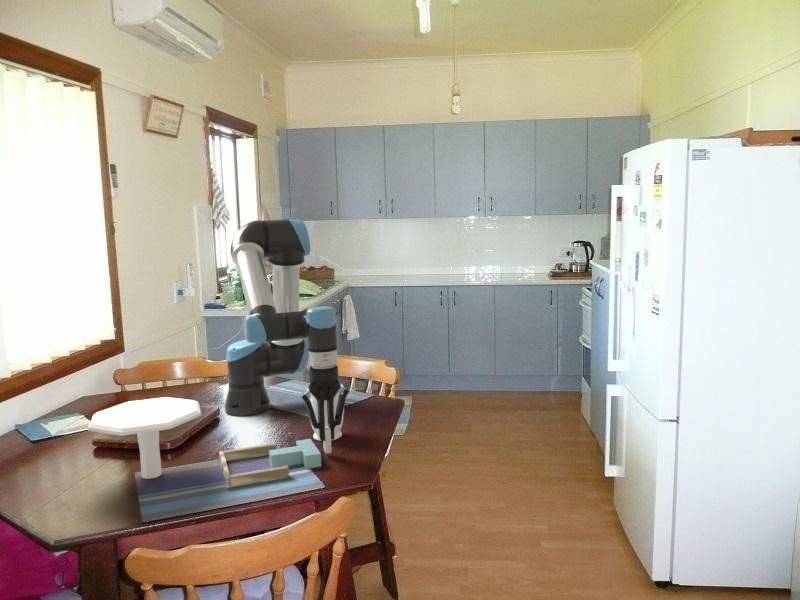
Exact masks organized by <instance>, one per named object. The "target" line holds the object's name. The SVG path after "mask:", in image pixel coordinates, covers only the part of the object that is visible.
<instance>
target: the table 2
mask: <svg viewBox="0 0 800 600" xmlns="http://www.w3.org/2000/svg"><path fill="white" fill-rule="evenodd" d="M201 416H202V410H201V406H200V403H199V401H197V400H195V399H186V398H179V397H170V396H164V397H156V398H155V397H153V398H148V399H147V398H145V399H140V400H138V399H137V400H129V401H125V402H122V403H119V404H116V405H114V406H111V407H108V408H105V409H103V410H99V411H97V412H95V413H94V414H93V415H92V417H91V420H90V423H89V426H88V429H87V431H88V432H94V433H101V434H107V435H112V436H113V435H114V436H121V437H122V436H123V437H124V436H128V435H137V443H138V448H139V457H140V471H141V473H140V474H141V478H142V479H146V480H148V479H155V478H158V477H159V476H161V475H162V474H163V473H162V460H161V450H160V431H165V430H171V429H174V428H176V427H178V426H181V425H183V424H185V423H187V422H190V421H193V420H194V419H197V418H199V417H201Z"/></svg>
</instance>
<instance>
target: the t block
mask: <svg viewBox="0 0 800 600" xmlns="http://www.w3.org/2000/svg"><path fill="white" fill-rule="evenodd" d="M295 445H296V446H289V447H288V446H287V447H283V448H282V447H281V448H277V449H275V450H269V455H268V457H269V458H268V460H269V466H270V468H276V467H282V466H288V467H290V466H296V465H302V464H303V467H304V468H305V469H306V470H309V469H315V468H321V467H322V454H321V452H320V450H319V449H318V447H317V446H316V445H315V443H314V441H312V439H311V438H305V439H300V440H296V441H295Z"/></svg>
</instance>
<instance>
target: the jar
mask: <svg viewBox="0 0 800 600" xmlns="http://www.w3.org/2000/svg"><path fill="white" fill-rule="evenodd" d="M340 385H341V386H342V387H344V385H343V384H342V383H340ZM306 390H308V387H307V388H306ZM310 396H311V399H310V401H311V404H312V407H313V410H314V414H315V417H316V420H317V423H318V406H317V399H316V398H315V397H314V396H313V395H312V393H311V394H310ZM338 397H339V391H338V392H337V394H336V395H335V397H334V403H333V406H334V419H335V413H336V408H337V403H338ZM344 414H345V408H344V409H343V414H342V420H341V424H340V425H337V426H335V429H334V439H332V440H331V442H332V441H335V440H338V439H340V438H341V437H342V436H343V433H342V431H341V429H342V428H343V424H344ZM324 417H325V427H326V426H328V418H327V401H326V400H325V401H324ZM309 421H310V422H311V420H309ZM310 424H311V423H310ZM311 428H312V430H313V431H314V433H313V435H312V436H313V439H314V440H316V441H319V442H322V441H321V440H320V438H319V429H317V428H316V429H315V428H314V427H313V426H312V424H311Z"/></svg>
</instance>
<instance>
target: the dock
mask: <svg viewBox="0 0 800 600" xmlns="http://www.w3.org/2000/svg"><path fill="white" fill-rule="evenodd" d="M275 449H278V447H277V442H272V443H265V444H260V445H253V446H246V447H240V448H239V447H238V448H233V449H227V450H220V451H218V452H219V463H220V465H221V470H222V475H223V478H224V482H225V486H226V488H227V489H231V488H234V487H235V488H236V487H240V486H241V487H243V486H246V485H252V484H253V485H254V484H258V483H264V482H269V481H270V482H271V481H276V480H282V479H288V478H290V468H289V467H290V466H282V467H276V468H272V467H270V468H265V469H258V470H253V471H247V472H241V473H234V474H231V473H230V470H229V467H228V464H227V462H231V461H239V460H244V459H249V458H250V459H252V458H257V457H263V456H269V450H275Z"/></svg>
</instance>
